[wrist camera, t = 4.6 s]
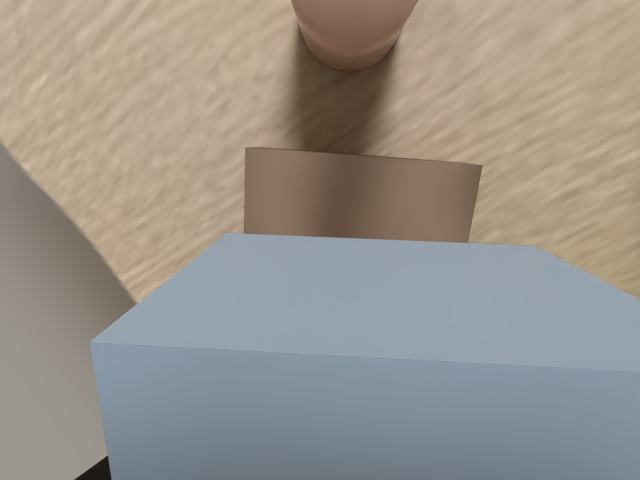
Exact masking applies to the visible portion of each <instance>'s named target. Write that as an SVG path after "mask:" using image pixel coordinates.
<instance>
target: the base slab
mask: <svg viewBox="0 0 640 480" xmlns="http://www.w3.org/2000/svg"><path fill="white" fill-rule="evenodd" d="M481 171H482V165H476V164H468V163H461V162H448V161H434V160H421V159H408V158H395V157H381V156H368V155H355V154H342V153H328V152H315V151H302V150H289V149H275V148H262V147H247V148H245V212H244V234H262V235H286V236H310V237H335V238H359V239H383V240H407V241H432V242H456V243H468V238H469V233H470V228H471V223H472V217H473V212H474V207H475V202H476V197H477V191H478V186H479V181H480V176H481Z"/></svg>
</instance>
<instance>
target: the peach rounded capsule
mask: <svg viewBox="0 0 640 480" xmlns="http://www.w3.org/2000/svg"><path fill="white" fill-rule="evenodd" d="M291 1H292V5H293V8H294V11H295V14H296V17H297V20H298V23H299V26H300V29H301V32H302V35H303V38H304V41H305V43H306V45H307V47H308V48H309V50H310V51H311V53H312V54H313V55H314V56H315V57H316V58H317V59H318V60H319V61H320V62H321V63H323V64H325V65H326V66H328V67H330V68H332V69H335V70H339V71H345V72H353V71H359V70H363V69H366V68H368V67H370V66H372V65H374V64H375V63H377V62H378V61H380V60H381V59H382V58H383V57H384V56H385V55H386V54H387V53H388V52H389V50H390V49H391V48H392V46H393V44H394V43H395V41H396V39H397V37H398V35H399V34H400V32H401V30H402V28H403V26H404V25H405V23H406V21H407V19H408V17H409V16H410V14H411V12H412V10H413V8H414V7H415V5H416V3H417V1H418V0H291Z"/></svg>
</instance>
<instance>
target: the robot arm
mask: <svg viewBox="0 0 640 480" xmlns="http://www.w3.org/2000/svg"><path fill="white" fill-rule="evenodd" d="M75 480H112V478H111V472H110V466H109V459H108V456H107V457H105V458H104V459H102V460H101V461H100V462H98V463H97V464H95V465H94V466H93V467H92V468H90V469H89V470H87V471H86V472H84V473H83V474H82V475H80V476H79V477H77V478H76V479H75Z"/></svg>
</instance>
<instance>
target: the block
mask: <svg viewBox="0 0 640 480" xmlns="http://www.w3.org/2000/svg"><path fill="white" fill-rule="evenodd" d="M90 348H91V354H92V360H93V366H94V373H95V379H96V385H97V391H98V397H99V404H100V410H101V416H102V422H103V428H104V435H105V441H106V446H107V453H108V459H109V466H110V472H111V478H112V480H640V299H638V298H636V297H634V296H632V295H630V294H628V293H626V292H624V291H622V290H620V289H618V288H616V287H614V286H612V285H610V284H608V283H606V282H604V281H602V280H600V279H598V278H596V277H595V276H593V275H591V274H589V273H587V272H585V271H583V270H581V269H579V268H577V267H575V266H573V265H571V264H569V263H567V262H565V261H563V260H561V259H559V258H557V257H555V256H553V255H551V254H549V253H547V252H545V251H543V250H541V249H539V248H537V247H535V246H528V245H504V244H480V243H456V242H432V241H407V240H383V239H359V238H335V237H310V236H286V235H262V234H238V233H226V234H225V235H224V236H222V237H221V238H220V239H219V240H217V241H216V242H215V243H214V244H212V245H211V246H210V247H209V248H207V249H206V250H205V251H204V252H202V253H201V254H200V255H199V256H197V257H196V258H195V259H193V260H192V261H191V262H190V263H188V264H187V265H186V266H185V267H183V268H182V269H181V270H180V271H178V272H177V273H176V274H175V275H173V276H172V277H171V278H170V279H168V280H167V281H166V282H165V283H163V284H162V285H161V286H159V287H158V288H157V289H156V290H154V291H153V292H152V293H151V294H149V295H148V296H147V297H146V298H144V299H143V300H142V301H141V302H139V303H138V304H137V305H136V306H134V307H133V308H132V309H131V310H129V311H128V312H127V313H126V314H124V315H123V316H122V317H121V318H119V319H118V320H117V321H115V322H114V323H113V324H112V325H111V326H109V327H108V328H107V329H105V330H104V331H103V332H102V333H100V334H99V335H98V336H97V337H95V338H94V339H93V340H91V341H90Z"/></svg>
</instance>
